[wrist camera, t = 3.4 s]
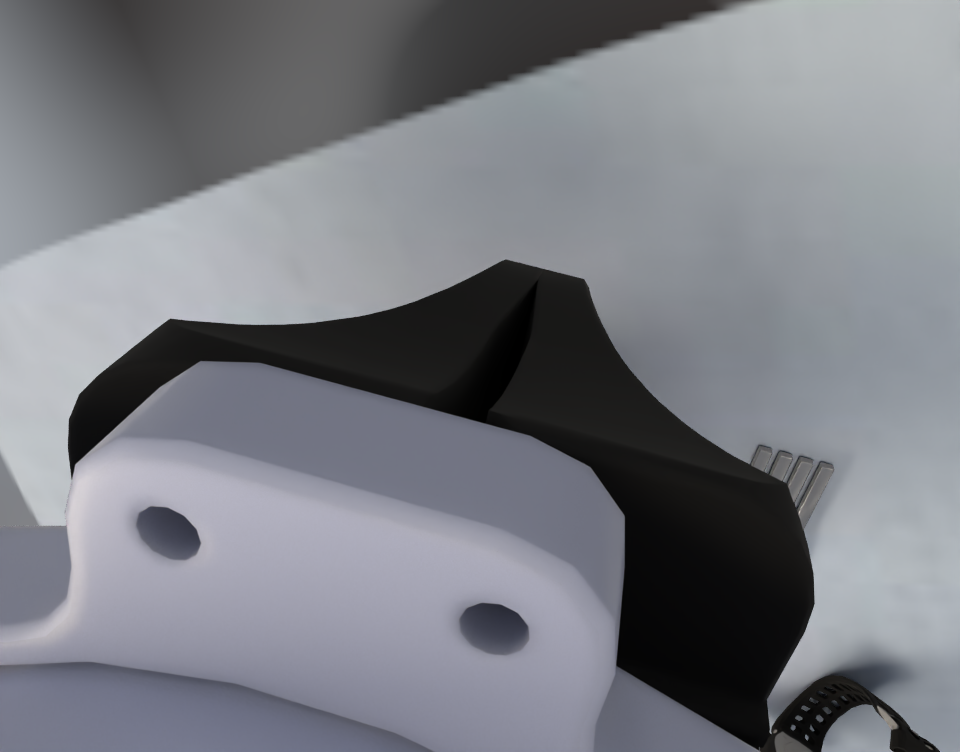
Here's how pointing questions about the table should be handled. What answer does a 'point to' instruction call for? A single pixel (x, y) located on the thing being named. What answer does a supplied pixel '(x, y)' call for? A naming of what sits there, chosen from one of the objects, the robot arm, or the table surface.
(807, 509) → the fork
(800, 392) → the table surface
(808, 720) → the smartwatch
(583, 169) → the table surface
